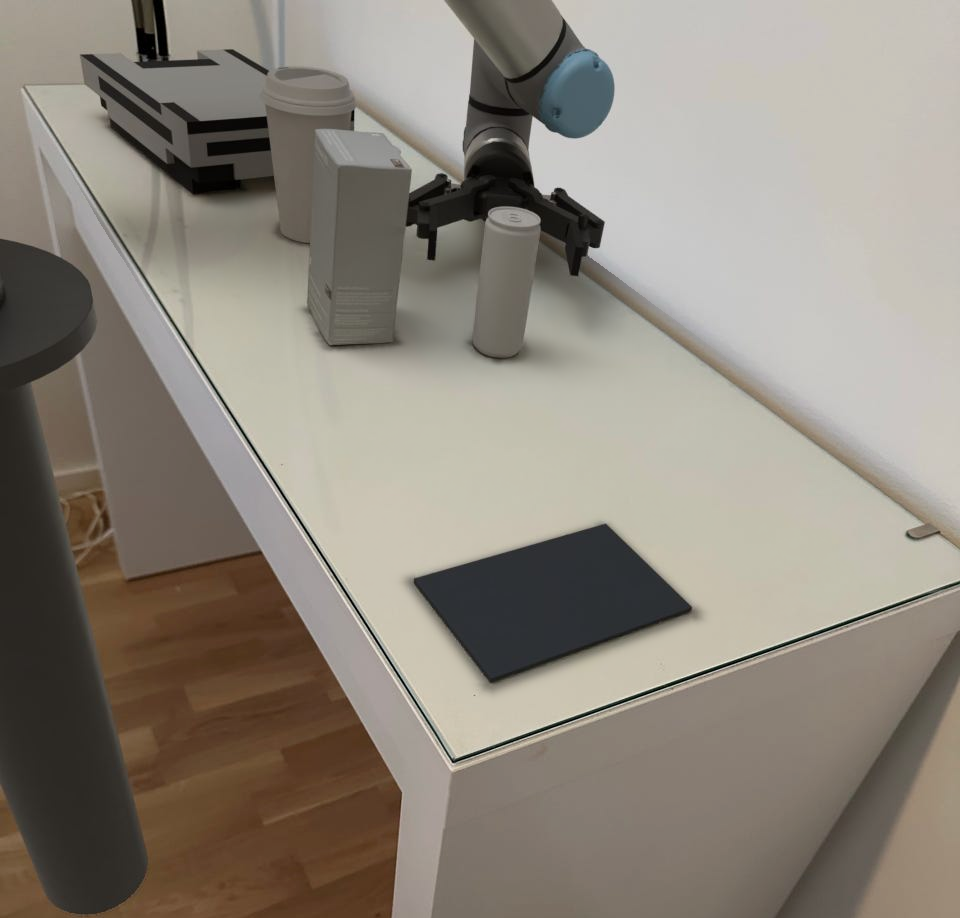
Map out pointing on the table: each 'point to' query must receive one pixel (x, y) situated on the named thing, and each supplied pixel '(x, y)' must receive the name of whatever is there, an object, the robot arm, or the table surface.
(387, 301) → the cosmetic box
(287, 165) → the coffee cup
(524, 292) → the beverage can
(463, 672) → the table surface
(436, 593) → the mat
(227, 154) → the game console
